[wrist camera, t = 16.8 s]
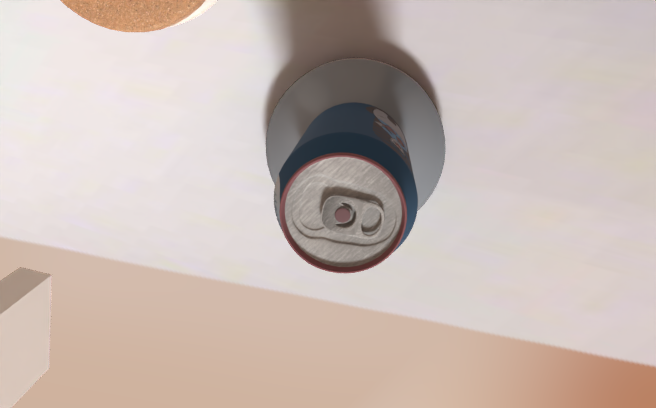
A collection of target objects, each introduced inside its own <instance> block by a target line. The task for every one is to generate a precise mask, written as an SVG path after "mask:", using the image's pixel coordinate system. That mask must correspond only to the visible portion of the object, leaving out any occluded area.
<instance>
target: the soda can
mask: <svg viewBox="0 0 656 408" xmlns="http://www.w3.org/2000/svg"><path fill="white" fill-rule="evenodd" d="M274 207H275V213H276V216H277V220H278V222H279V225H280V227H281V229H282V231H283V233H284V235H285V237H286V239H287V241H288V243H289V244H290V246H291V247H292V248H293V250H294V251H295V252H296V253H297V254H298V255H299V256H300V257H301V258H302V259H303V260H305V261H306V262H308V263H309V264H311V265H313V266H315V267H317V268H319V269H322V270H325V271H329V272H335V273H355V272H360V271H364V270H367V269H369V268H372V267H374V266H376V265H378V264H379V263H381V262H382V261H384V260H385V259H386V258H388V257H389V256H390V255H391V254H392V253H393V252H394V251H395V250H396V249H397V248H398V247H399V246H400V245H401V244H402V243H403V242H404V240H405V239H406V238H407V236H408V235H409V233H410V231H411V229H412V227H413V224H414V222H415V218H416V214H417V208H418V195H417V188H416V184H415V179H414V174H413V170H412V165H411V161H410V156H409V151H408V147H407V142H406V139H405V136H404V134H403V132H402V130H401V128H400V127H399V125H398V124H397V123H396V121H395V120H394V119H393V118H392V117H391V116H390V115H388V114H387V113H386V112H384V111H383V110H381V109H379V108H377V107H375V106H372V105H369V104H365V103H357V102H351V103H343V104H339V105H336V106H333V107H331V108H329V109H327V110H325V111H324V112H322V113H321V114H320V115H318V116H317V117H316V118H315V119H314V120H313V121H312V123H311V124H310V125H309V127H308V128H307V130H306V131H305V133H304V134H303V136H302V137H301V139H300V140H299V142H298V143H297V145H296V146H295V148H294V149H293V151H292V152H291V154H290V155H289V157H288V159H287V160H286V162H285V163H284V165H283V166H282V168H281V170H280V172H279V175H278V177H277V180H276V184H275V190H274Z"/></svg>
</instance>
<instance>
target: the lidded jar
mask: <svg viewBox="0 0 656 408" xmlns="http://www.w3.org/2000/svg"><path fill="white" fill-rule="evenodd" d="M61 1H62V2H63V3H64V4H65V5H66V6H67V7H68V8H70V9H71V10H73V11H74V12H75V13H77V14H78V15H80V16H81V17H83V18H85V19H87V20H89V21H90V22H92V23H94V24H97V25H99V26H102V27H105V28H108V29H111V30H117V31H123V32H149V31H154V30H160V29H164V28H167V27H173V26H177V25H180V24H182V23H185V22H188V21H190V20H193V19H194V18H196V17H198V16H200V15H201V14H203V13H205V12H206V11H207V10H208V9H209V8H210V7H212V6H213V5H214V4H215V3H216V2H217V1H218V0H61Z"/></svg>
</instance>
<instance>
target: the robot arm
mask: <svg viewBox="0 0 656 408" xmlns="http://www.w3.org/2000/svg"><path fill="white" fill-rule="evenodd" d="M51 286H52V275H50V274H46V273H42V272H38V271H34V270H30V269H26V268H22V267H20V268H18V269H17V270H15V271H14V272H12V273H11V274H9V275H8V276H7V277H5V278H4V279H2V280H1V281H0V408H12V407H13V406H14V404H15V403H16V402H17V401H18V400H19V399H20V398H21V397H22V396H23V395H24V394H25V393H26V392H27V391H28V390H29V389H30V388H31V387H32V386H33V385H34V384H35V383H36V382H37V380H38V379H39V378H40V377H41V376H42V375H43V374H44V373H45V372H46V371H47V370H48V369H49V359H50V322H51Z"/></svg>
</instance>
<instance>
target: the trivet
mask: <svg viewBox="0 0 656 408" xmlns="http://www.w3.org/2000/svg"><path fill="white" fill-rule="evenodd" d="M351 102H357V103H365V104H369V105H372V106H375V107H377V108H379V109H381V110H383V111H384V112H386V113H387V114H388V115H390V116H391V117H392V118H393V119H394V120H395V121H396V123H397V124H398V125H399V127H400V128H401V130H402V132H403V134H404V136H405V139H406V142H407V147H408V151H409V156H410V161H411V165H412V170H413V174H414V179H415V184H416V188H417V195H418V208H417V211H418V210H419V209H420V208H421V207H422V206H423V205H424V204H425V202H426V201H427V200H428V198H429V197H430V196H431V194H432V193H433V191H434V189H435V187H436V185H437V183H438V181H439V178H440V176H441V173H442V169H443V165H444V159H445V136H444V130H443V126H442V123H441V120H440V116H439V114H438V112H437V110H436V108H435V106H434V104H433V102H432V101H431V99H430V98H429V96H428V95H427V93H426V92H425V91H424V90H423V88H422V87H421V86H420V85H419V84H418V83H417V82H416V81H415V80H414V79H413V78H411V77H410V76H409V75H408V74H406V73H405V72H403V71H401V70H400V69H398V68H396V67H394V66H392V65H390V64H387V63H384V62H381V61H378V60H373V59H367V58H346V59H339V60H335V61H331V62H328V63H325V64H323V65H320V66H318V67H316V68H315V69H313V70H311V71H309V72H308V73H306V74H305V75H303V76H302V77H301V78H300V79H298V80H297V81H296V82H295V83H294V84H293V85H292V86H291V87H290V88H289V89H288V90H287V91H286V92H285V93H284V95H283V96H282V97H281V99H280V100H279V102H278V104H277V106H276V107H275V109H274V111H273V114H272V116H271V119H270V122H269V126H268V130H267V137H266V156H267V163H268V167H269V171H270V174H271V177H272V179H273V182H274V184H276V180H277V177H278V175H279V172H280V170H281V168H282V166H283V165H284V163H285V162H286V160H287V159H288V157H289V155H290V154H291V152H292V151H293V149H294V148H295V146H296V145H297V143H298V142H299V140H300V139H301V137H302V136H303V134H304V133H305V131H306V130H307V128H308V127H309V125H310V124H311V123H312V121H313V120H314V119H315V118H316V117H317V116H318V115H320V114H321V113H322V112H324V111H325V110H327V109H329V108H331V107H333V106H336V105H339V104H343V103H351Z"/></svg>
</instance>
